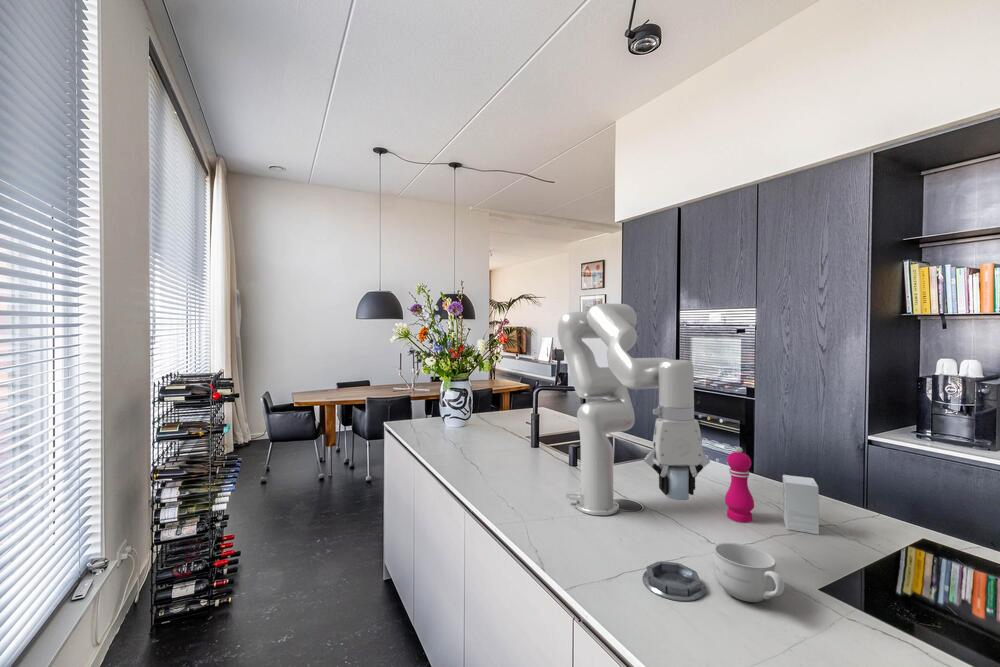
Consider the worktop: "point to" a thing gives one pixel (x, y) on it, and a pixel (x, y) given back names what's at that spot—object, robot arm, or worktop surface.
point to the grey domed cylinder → (678, 482)
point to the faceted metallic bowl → (673, 581)
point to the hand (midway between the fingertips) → (677, 491)
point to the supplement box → (801, 504)
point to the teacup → (746, 572)
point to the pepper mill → (739, 488)
